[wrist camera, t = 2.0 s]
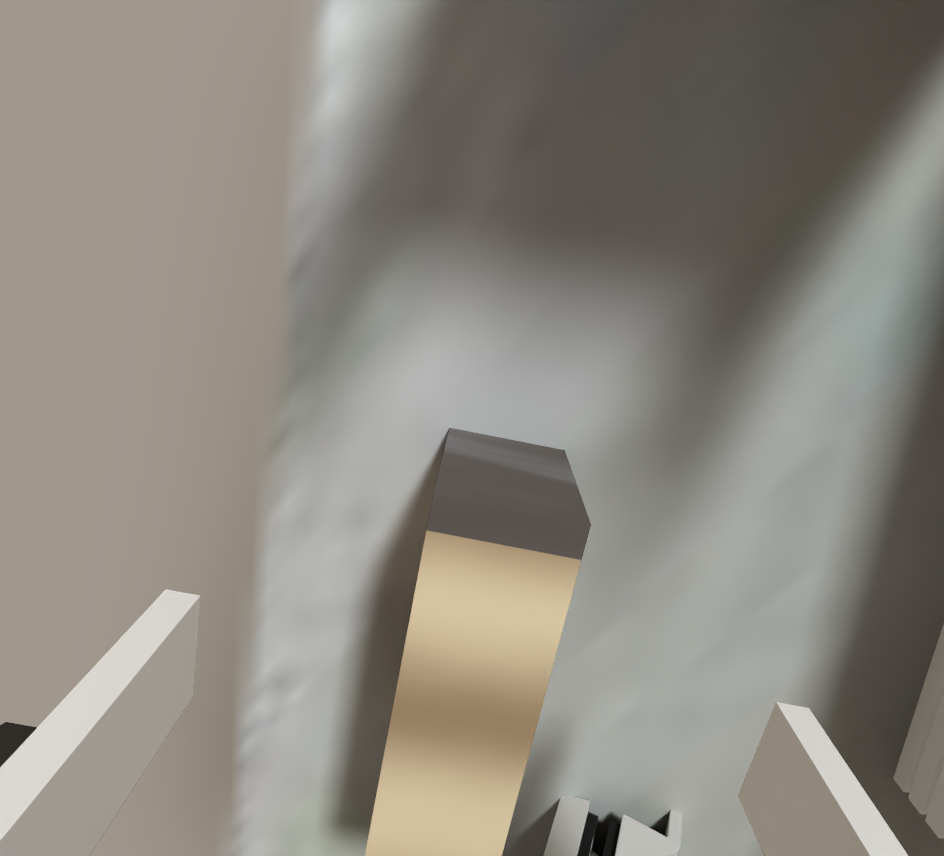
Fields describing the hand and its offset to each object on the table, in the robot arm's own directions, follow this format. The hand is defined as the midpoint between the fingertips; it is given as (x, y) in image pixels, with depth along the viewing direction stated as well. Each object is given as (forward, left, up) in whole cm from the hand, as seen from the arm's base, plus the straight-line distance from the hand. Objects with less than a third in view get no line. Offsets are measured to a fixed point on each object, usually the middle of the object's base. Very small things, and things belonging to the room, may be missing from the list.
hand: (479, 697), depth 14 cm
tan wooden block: (-2, 0, -9) cm, 9 cm away
